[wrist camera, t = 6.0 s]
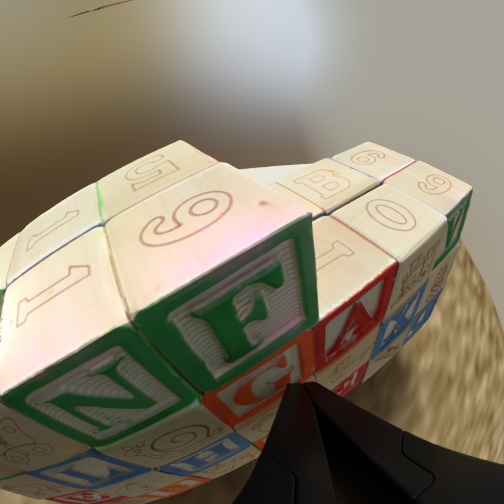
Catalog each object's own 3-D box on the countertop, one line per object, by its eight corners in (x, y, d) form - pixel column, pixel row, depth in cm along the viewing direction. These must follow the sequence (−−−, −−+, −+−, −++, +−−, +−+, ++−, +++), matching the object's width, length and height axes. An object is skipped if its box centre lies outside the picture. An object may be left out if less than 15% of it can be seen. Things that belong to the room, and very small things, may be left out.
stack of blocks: (362, 266, 19) (367, 83, 11) (429, 319, 15) (491, 119, 6) (89, 425, 13) (-69, 302, 5) (120, 512, 9) (-95, 441, 1)
